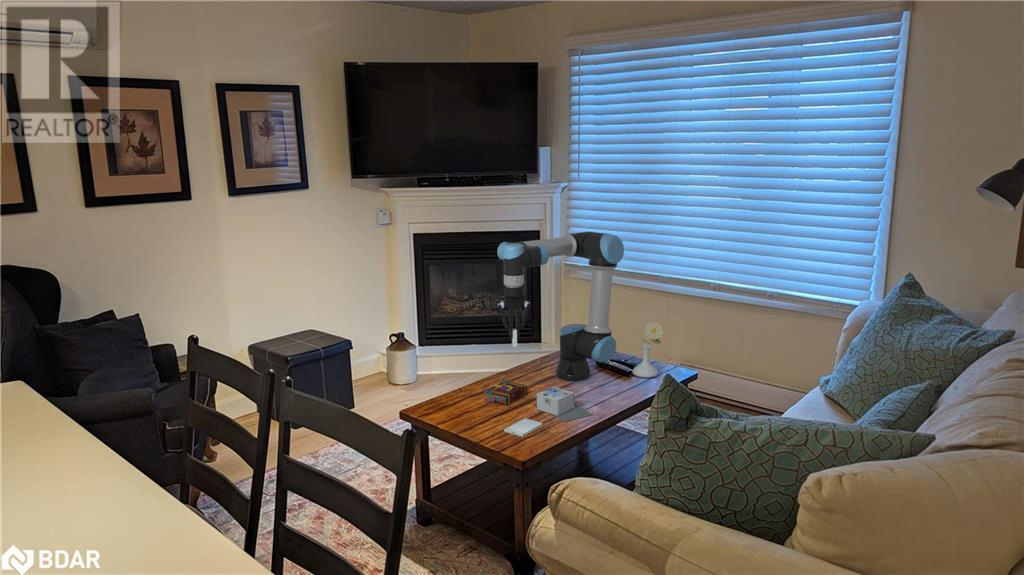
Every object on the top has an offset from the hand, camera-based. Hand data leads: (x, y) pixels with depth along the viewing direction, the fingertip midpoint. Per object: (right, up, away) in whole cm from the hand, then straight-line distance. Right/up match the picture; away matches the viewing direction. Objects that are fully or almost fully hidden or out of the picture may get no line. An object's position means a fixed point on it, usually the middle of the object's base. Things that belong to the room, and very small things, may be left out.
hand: (514, 345), depth 263 cm
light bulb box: (+12, -23, +1) cm, 26 cm away
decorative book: (-4, -23, +19) cm, 30 cm away
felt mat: (+20, -26, +4) cm, 33 cm away
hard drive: (+3, -30, -11) cm, 32 cm away
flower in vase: (+59, -17, +43) cm, 75 cm away
